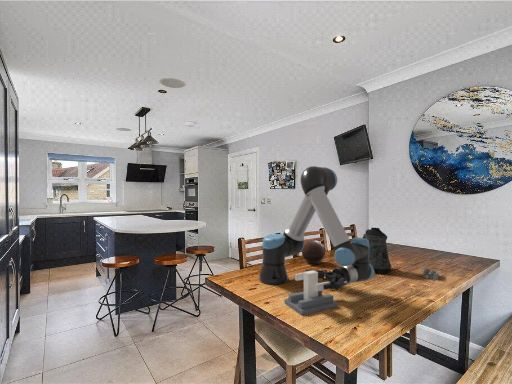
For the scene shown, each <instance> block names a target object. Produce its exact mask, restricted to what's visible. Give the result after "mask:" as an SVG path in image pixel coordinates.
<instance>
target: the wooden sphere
mask: <svg viewBox="0 0 512 384" xmlns="http://www.w3.org/2000/svg"><path fill="white" fill-rule="evenodd" d="M301 254H302V255H301V256H302V258H303V259H304V260H305V261H306V262H307V263H309V264H318V263H320V262H321V261H323V259H324V258H325V255H326V251H325V246H324V245H323V244H322V243H321V242H320V241H319V240H316V239H315V240H314V239H309V240H308V241H305V242H304V247H303V249H302V251H301Z"/></svg>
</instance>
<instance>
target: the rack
mask: <svg viewBox="0 0 512 384" xmlns="http://www.w3.org/2000/svg"><path fill="white" fill-rule="evenodd" d="M287 295H288V297H287V298H285V299H284V300H283V301H284V304H285V305H286V306H288V307H289V308H290V309H292V310H293V311H294V312H296V313H297V314H299V315H300V316H303V315H307V314H309V315H310V314H312V313H316V312H320V311H325V310H329V309H333V308H337V307H338V306H339V305H338V302H337V301H335V300H334V295H332V294H330V293H327V294H323V290H322V291H318V297H314V298H309V299H304V291H300V292H295V293H289V294H287Z"/></svg>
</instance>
